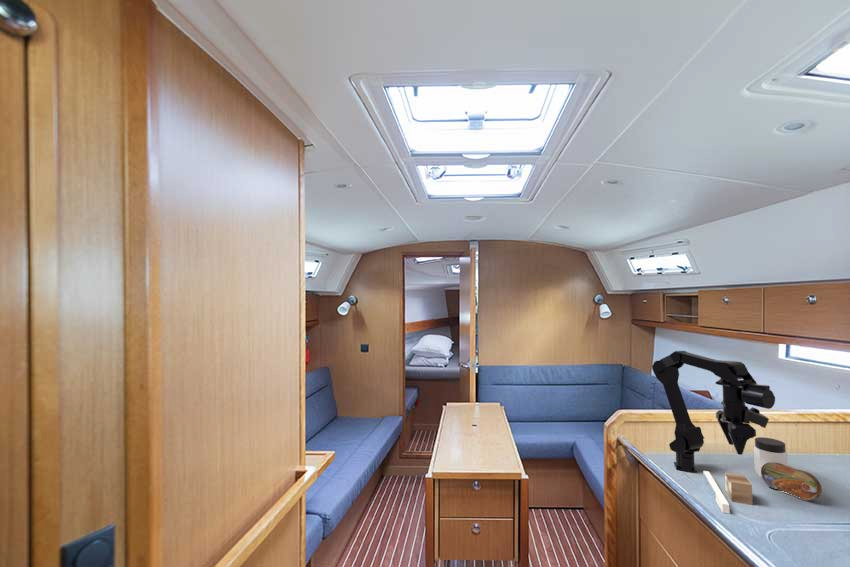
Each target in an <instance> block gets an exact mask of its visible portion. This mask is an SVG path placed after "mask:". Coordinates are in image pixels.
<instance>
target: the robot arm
mask: <svg viewBox="0 0 850 567" xmlns="http://www.w3.org/2000/svg"><path fill="white" fill-rule="evenodd" d="M684 365H688V366H691V367H695V368H698V369H701V370H704V371H708V372H710V373H713V375H715V377H718V378H720V379H718V380H717V381H715V385H719V386H722V400H721V406H722V407H723V408H722V410H719V409H718V410H717V411H716V412H715V418H716V419H717V423H718V424H719V426H720V428H721V430H722V432H723V434H724V436H725V439H726V441H727V443H728V444H729V445H731V446H733V447H734V448H735V451H736V453H737V454H738V455H740V456H743V454H744V450H745V447H746V444H747V441H748V440H750V439H753V438H756V437H757V430H756V429H755V428H754V427H753V426H752V425H751V424H750V423H752V424H755V425H758V426H760V427H761V428H764V429H766V428H767V425H768V422H769V420H770V418H768V416H766V415H764V414H762V413H761V412H760V410H759V409H758V408H756V407H759V408H762V409H768V410H769V409H770V410H771V409H772V408H773V407H774V405H775V403H776V396H775V394H774V392H773V391H772V390H771V387H770V385H768V384H767V385H766V384H758V382H757V381H756V380H755V379H754V377H753V376H752V375H751V373H750V372H749V370H748V368H747V366H746V365H745V363H743V362H742V361H735V360H718V359H714V358H710V357H707V356H702V355H699V354H695V353H691V352H689V351H686V350H675V351H673V352H672V353H670V354H669V355H667V356H664V357H663V358H660V359H659V360H655V361H654V362H653V364H652V366H651V367H652V368H651V369H652V371H653V373H654V375H655V376H654V377H655V378H656V379H657V380H658V381H659V382H660V384H662V385H663V389H664V392H665V395H666V397H667V400H668V404H669V407H670V410H671V413H672V416H673V419H674V422H675V427H674V438H675V439H674V440H673V441H671V442H670V443H668V446H669V449H670V451H672V452H675V461H673V464H674V465H673V466H674V467H675V469H676V470H678V471H683V472H690V473H698V469H697V467H696V465H695V453H696V452H697V453H698V452H700V450H701V448H702V447H703V446H704V444H705V441H704V439H705V437H704V435H703V432H702V428H701V426H696V425H695V424H693V422H692V420H691V417H690V415H689V411H688V409H687V406H686V404H685V400H684V397H683V394H682V392H681V389H680V386H679V379H680V378H679V377H680V371H679V369H681V368H682V367H683V366H684ZM746 404H747V405H750V406H754V407H751V408H749V407H748V406H747V405H746Z"/></svg>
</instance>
